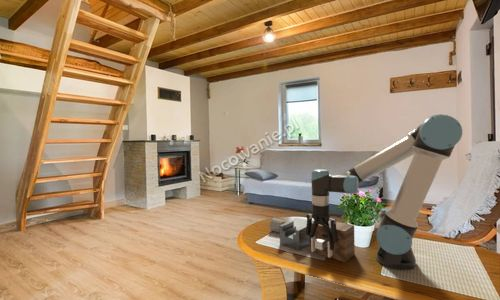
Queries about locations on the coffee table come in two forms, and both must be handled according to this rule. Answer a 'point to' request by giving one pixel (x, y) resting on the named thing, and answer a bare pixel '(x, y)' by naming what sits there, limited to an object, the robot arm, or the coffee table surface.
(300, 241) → the v block
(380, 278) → the coffee table surface
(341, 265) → the coffee table surface
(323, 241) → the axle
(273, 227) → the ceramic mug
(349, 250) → the brown wooden box
